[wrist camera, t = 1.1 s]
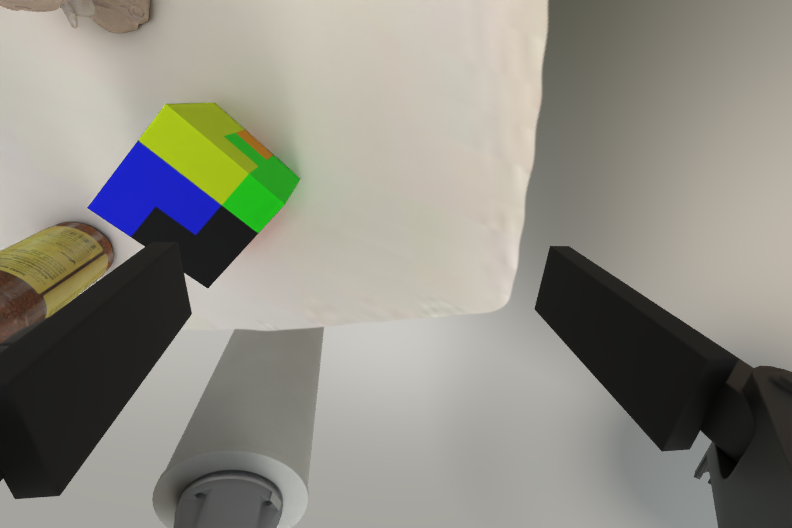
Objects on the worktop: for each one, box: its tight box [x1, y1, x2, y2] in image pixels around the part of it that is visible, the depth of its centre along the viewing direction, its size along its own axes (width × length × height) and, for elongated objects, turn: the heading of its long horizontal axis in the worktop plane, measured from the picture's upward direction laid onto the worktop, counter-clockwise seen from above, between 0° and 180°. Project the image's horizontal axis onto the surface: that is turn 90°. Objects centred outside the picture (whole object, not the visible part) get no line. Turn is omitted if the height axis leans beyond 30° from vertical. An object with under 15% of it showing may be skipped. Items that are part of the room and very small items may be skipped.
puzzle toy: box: [88, 103, 300, 288], centre depth 32 cm, size 10×10×10 cm
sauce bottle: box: [0, 222, 113, 343], centre depth 29 cm, size 6×6×20 cm
